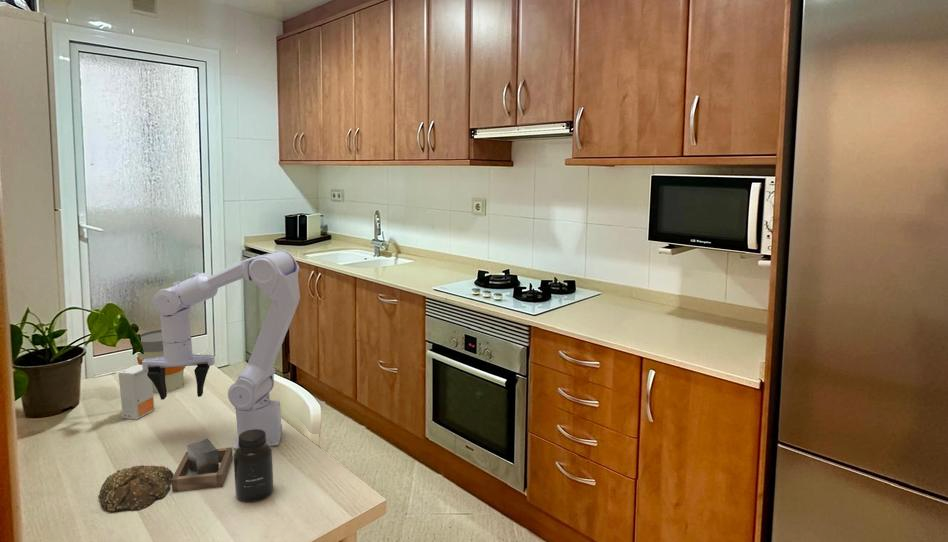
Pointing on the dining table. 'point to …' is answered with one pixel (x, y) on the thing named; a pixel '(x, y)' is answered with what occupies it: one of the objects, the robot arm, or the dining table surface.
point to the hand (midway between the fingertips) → (182, 396)
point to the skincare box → (136, 392)
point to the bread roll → (135, 487)
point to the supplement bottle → (253, 466)
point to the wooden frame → (202, 480)
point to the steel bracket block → (202, 457)
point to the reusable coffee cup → (155, 349)
